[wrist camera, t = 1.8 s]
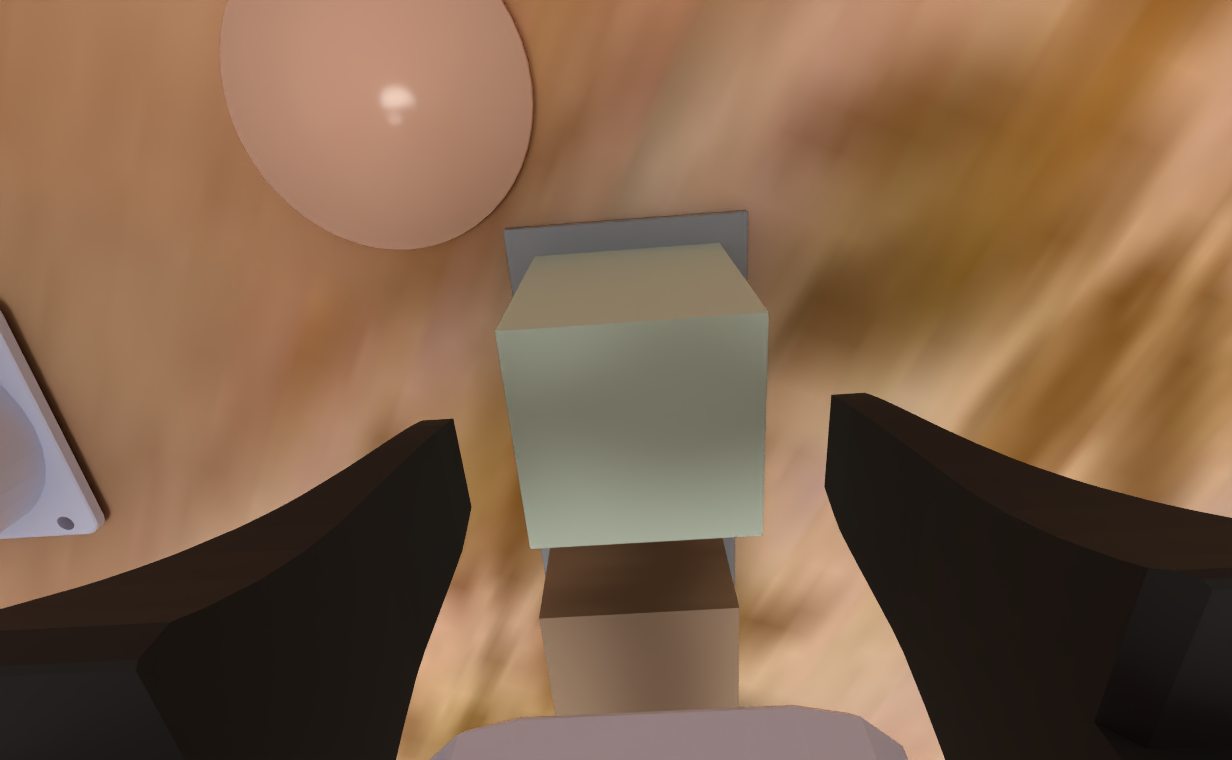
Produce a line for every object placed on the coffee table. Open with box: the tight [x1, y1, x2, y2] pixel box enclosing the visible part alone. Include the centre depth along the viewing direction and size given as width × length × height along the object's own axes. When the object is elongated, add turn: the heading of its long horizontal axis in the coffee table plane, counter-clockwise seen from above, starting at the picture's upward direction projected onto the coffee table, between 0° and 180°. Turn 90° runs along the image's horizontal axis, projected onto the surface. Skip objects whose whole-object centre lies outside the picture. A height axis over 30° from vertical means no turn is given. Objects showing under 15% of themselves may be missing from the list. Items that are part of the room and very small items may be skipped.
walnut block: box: [539, 538, 739, 716], centre depth 19 cm, size 5×5×5 cm
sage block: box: [495, 243, 769, 549], centre depth 15 cm, size 5×5×6 cm
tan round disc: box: [220, 0, 534, 250], centre depth 15 cm, size 8×8×1 cm
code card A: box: [503, 210, 748, 296], centre depth 18 cm, size 6×6×1 cm
